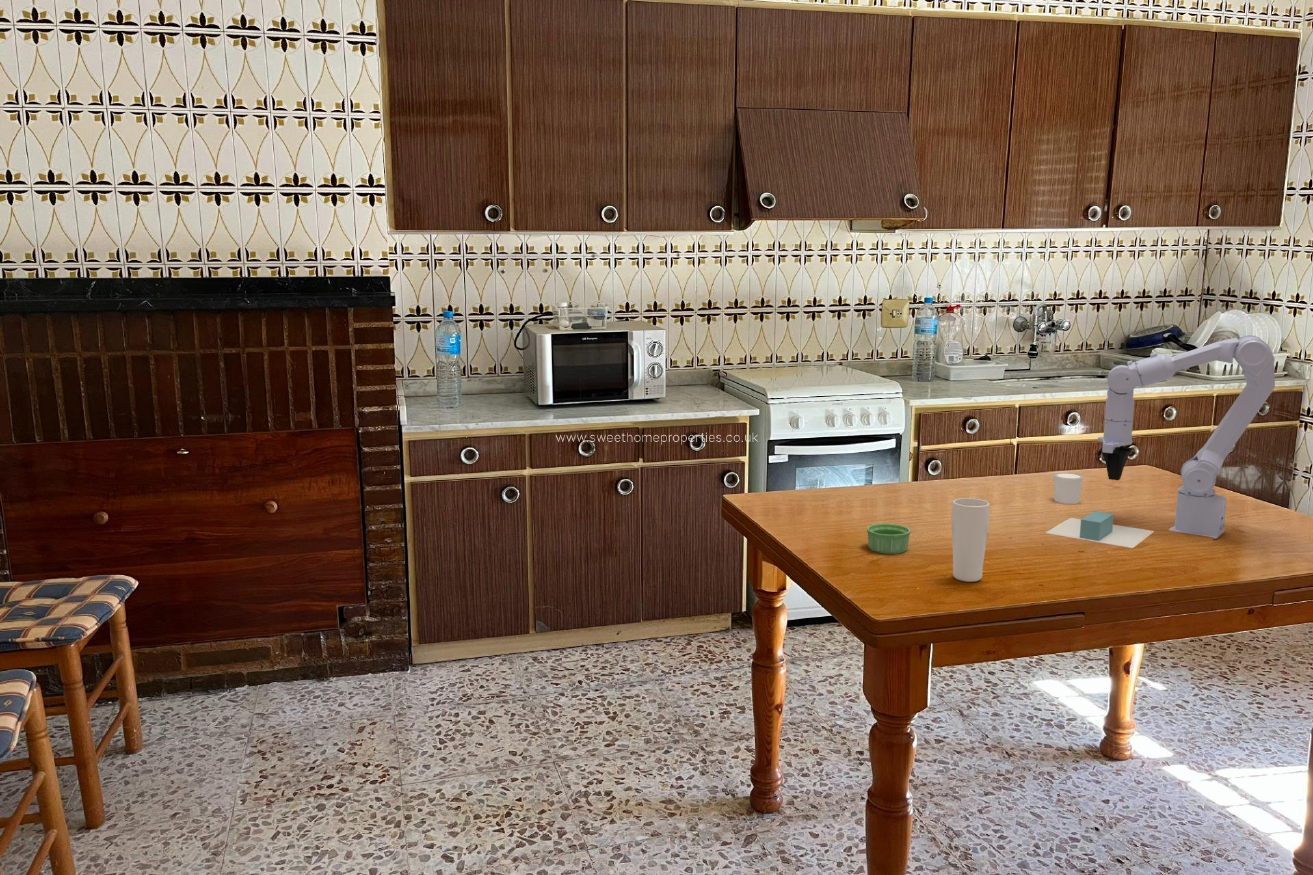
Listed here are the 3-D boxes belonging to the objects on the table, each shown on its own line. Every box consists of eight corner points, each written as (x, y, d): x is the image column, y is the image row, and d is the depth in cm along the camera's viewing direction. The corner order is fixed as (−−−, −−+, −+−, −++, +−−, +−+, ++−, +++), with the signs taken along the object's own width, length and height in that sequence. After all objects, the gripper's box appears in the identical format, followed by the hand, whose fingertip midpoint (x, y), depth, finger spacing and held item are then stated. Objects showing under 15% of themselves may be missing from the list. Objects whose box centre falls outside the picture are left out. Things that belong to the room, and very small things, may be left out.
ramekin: (915, 546, 214) (916, 526, 213) (902, 557, 207) (903, 537, 206) (874, 540, 219) (874, 520, 218) (860, 551, 211) (860, 531, 210)
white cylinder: (1076, 500, 251) (1078, 472, 250) (1085, 507, 244) (1087, 479, 243) (1048, 499, 252) (1049, 472, 250) (1056, 506, 245) (1057, 478, 244)
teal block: (1113, 513, 220) (1100, 522, 214) (1112, 531, 221) (1099, 540, 215) (1094, 510, 223) (1080, 519, 216) (1093, 528, 224) (1079, 537, 217)
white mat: (1154, 533, 221) (1154, 531, 221) (1132, 550, 209) (1132, 547, 209) (1070, 520, 233) (1070, 517, 233) (1045, 535, 221) (1045, 532, 221)
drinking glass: (978, 572, 197) (982, 497, 194) (991, 583, 190) (995, 506, 187) (944, 572, 197) (947, 498, 194) (955, 584, 190) (959, 506, 187)
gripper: (1109, 413, 233) (1105, 471, 236) (1089, 422, 222) (1085, 482, 225) (1142, 416, 229) (1137, 475, 231) (1123, 425, 218) (1119, 487, 220)
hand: (1114, 479), depth 228 cm, fingers closed
